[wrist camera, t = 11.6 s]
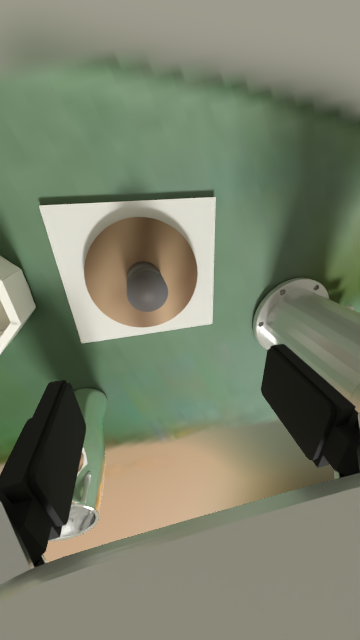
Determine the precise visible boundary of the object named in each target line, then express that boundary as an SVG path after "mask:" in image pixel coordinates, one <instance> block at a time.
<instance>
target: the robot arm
mask: <svg viewBox="0 0 360 640" xmlns="http://www.w3.org/2000/svg"><path fill="white" fill-rule="evenodd" d="M253 332H254V336H255V338H256V340H257V341H258V342H259V343H260V345H261V346H263V347H264V348H265V349H267V350H268V351H267V357H266V363H265V369H264V375H263V381H262V387H261V392H262V394H263V396H264V398H265V399H266V401H267V402H268V403H269V405H270V406H271V408H272V409H273V410H274V412H275V413H276V415H277V416H278V417H279V419H280V420H281V422H282V423H283V424H284V426H285V427H286V429H287V430H288V432H289V433H290V434H291V436H292V437H293V438H294V440H295V441H296V443H297V444H298V446H299V447H300V448H301V450H302V451H303V453H304V454H305V455H306V457H307V458H308V459H309V460H312V461H313V462H314V463H315V465H316V466H317V467H322V466H326V465H329V464H330V465H331V466H332V467H333V469H334V474H335V479H334V480H330V481H326V482H322V483H319V484H315V485H311V486H308V487H305V488H301V489H297V490H294V491H290V492H286V493H283V494H279V495H275V496H272V497H268V498H264V499H261V500H257V501H254V502H251V503H247V504H243V505H240V506H236V507H233V508H229V509H225V510H222V511H218V512H215V513H212V514H208V515H204V516H201V517H197V518H194V519H190V520H187V521H183V522H180V523H176V524H173V525H169V526H166V527H163V528H159V529H155V530H152V531H148V532H145V533H142V534H138V535H135V536H131V537H128V538H124V539H121V540H117V541H114V542H111V543H108V544H104V545H101V546H98V547H94V548H91V549H88V550H85V551H81V552H78V553H75V554H72V555H69V556H65V557H62V558H59V559H57V560H54V561H51V562H49V563H47V561H46V559H45V557H44V555H43V553H44V552H45V551H46V547H47V544H48V540H52V539H56V538H59V537H60V535H61V530H62V526H64V525H66V524H67V522H68V518H69V514H70V509H71V504H72V499H73V494H74V489H75V484H76V479H77V474H78V469H79V464H80V459H81V454H82V449H83V444H84V439H85V434H86V423H85V420H84V418H83V415H82V412H81V410H80V407H79V404H78V402H77V399H76V396H75V394H74V391H73V388H72V386H71V383H66V381H65V380H61V381H55V382H50V383H49V384H48V385H47V388H46V390H45V392H44V394H43V396H42V398H41V400H40V402H39V404H38V407H37V409H36V411H35V413H34V415H33V417H32V418H30V419H29V420H28V421H27V422H26V424H25V426H24V428H23V430H22V432H21V434H20V436H19V438H18V440H17V442H16V444H15V446H14V448H13V450H12V452H11V454H10V456H9V458H8V460H7V462H6V464H5V466H4V468H3V470H2V472H1V475H0V640H360V313H359V312H356V311H354V308H353V306H352V305H344V306H343V305H341V304H339V303H336V302H334V301H332V300H330V299H329V295H328V292H327V290H326V288H325V287H324V286H323V285H322V284H321V283H319V282H317V281H315V280H312V279H309V278H294V279H291V280H288V281H285V282H283V283H281V284H279V285H278V286H277V287H275V288H274V289H272V290H271V291H270V292H269V293H268V294H267V295H266V296H265V298H264V299H263V300H262V302H261V303H260V305H259V306H258V308H257V310H256V313H255V316H254V320H253Z"/></svg>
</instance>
